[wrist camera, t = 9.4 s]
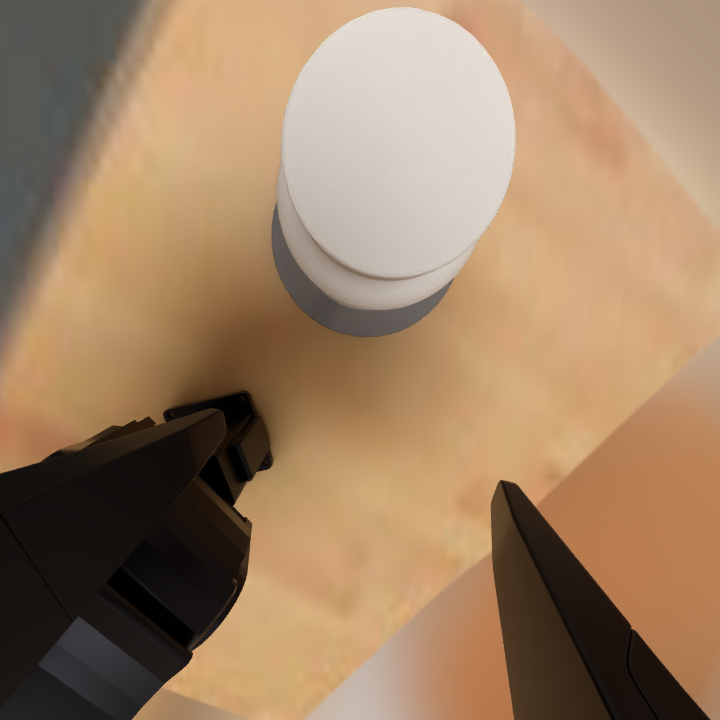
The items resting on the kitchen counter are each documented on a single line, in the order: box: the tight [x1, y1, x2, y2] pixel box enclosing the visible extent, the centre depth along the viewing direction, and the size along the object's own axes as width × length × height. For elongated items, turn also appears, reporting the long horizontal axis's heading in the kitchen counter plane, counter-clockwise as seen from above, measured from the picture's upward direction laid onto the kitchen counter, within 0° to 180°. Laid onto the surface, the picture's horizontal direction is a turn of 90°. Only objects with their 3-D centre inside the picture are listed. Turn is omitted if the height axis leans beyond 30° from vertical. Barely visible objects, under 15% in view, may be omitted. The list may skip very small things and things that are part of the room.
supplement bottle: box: [277, 7, 516, 310], centre depth 12 cm, size 7×7×13 cm
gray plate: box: [272, 203, 454, 337], centre depth 19 cm, size 12×12×1 cm
